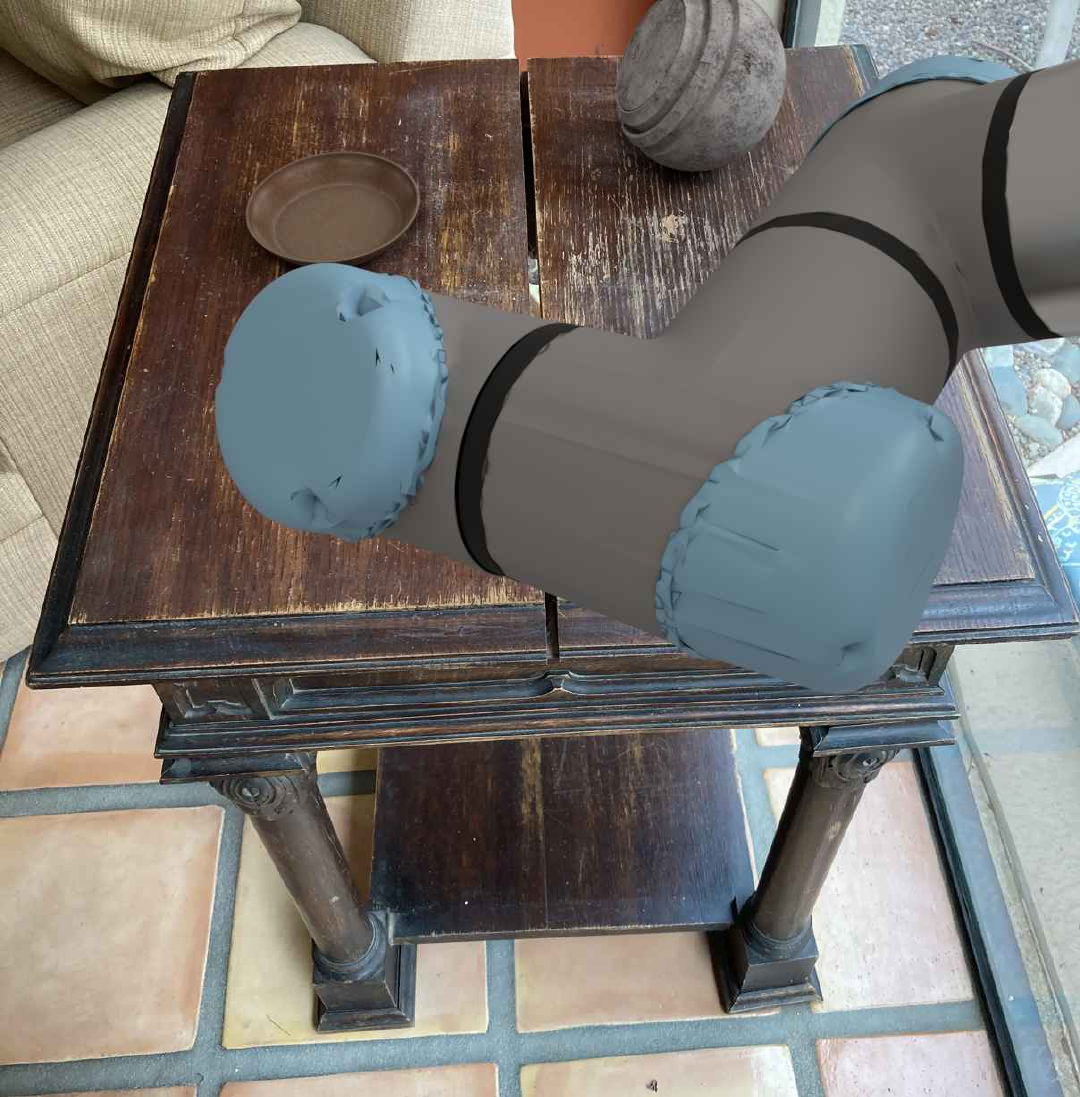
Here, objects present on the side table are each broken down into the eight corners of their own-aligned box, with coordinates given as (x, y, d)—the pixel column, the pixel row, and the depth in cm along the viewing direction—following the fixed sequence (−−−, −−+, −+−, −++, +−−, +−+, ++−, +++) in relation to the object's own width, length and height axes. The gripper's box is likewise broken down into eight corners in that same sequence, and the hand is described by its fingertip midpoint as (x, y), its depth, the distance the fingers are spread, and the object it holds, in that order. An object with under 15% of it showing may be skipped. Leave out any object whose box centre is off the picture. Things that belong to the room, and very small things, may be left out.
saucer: (295, 309, 85) (287, 283, 83) (226, 213, 93) (218, 187, 91) (453, 245, 90) (450, 218, 88) (376, 158, 97) (371, 132, 95)
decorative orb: (601, 116, 100) (607, -47, 88) (749, 104, 101) (776, -59, 89) (627, 212, 92) (637, 47, 80) (788, 198, 93) (823, 32, 81)
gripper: (423, 435, 45) (660, 474, 65) (642, 626, 39) (828, 604, 59) (511, 280, 42) (729, 370, 63) (758, 460, 37) (910, 496, 57)
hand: (777, 484), depth 61 cm, fingers closed
